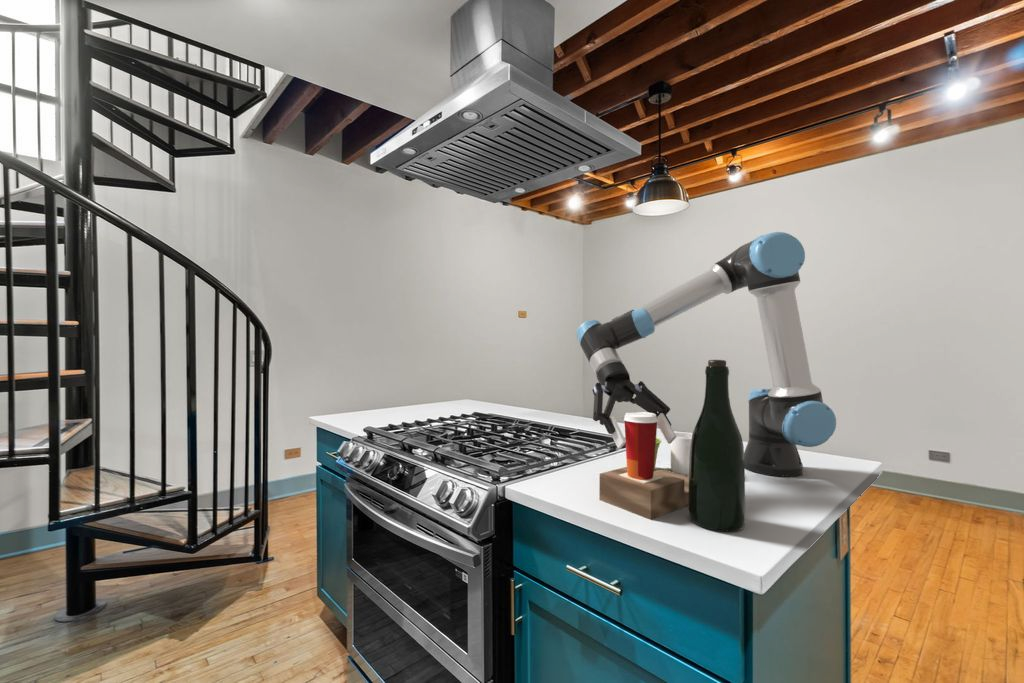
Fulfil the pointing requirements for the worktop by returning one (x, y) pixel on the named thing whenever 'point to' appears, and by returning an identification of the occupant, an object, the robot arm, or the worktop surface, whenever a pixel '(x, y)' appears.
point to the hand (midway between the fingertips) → (648, 442)
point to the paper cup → (640, 444)
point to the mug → (681, 453)
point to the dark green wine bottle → (717, 459)
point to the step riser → (645, 492)
